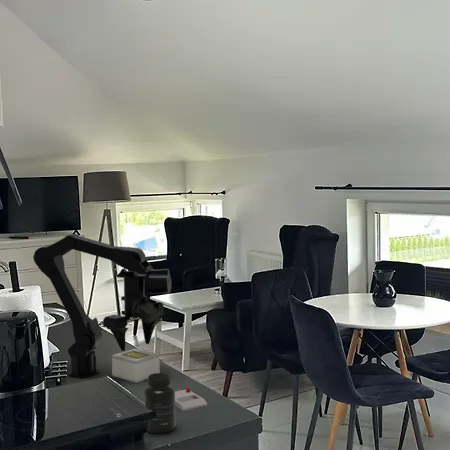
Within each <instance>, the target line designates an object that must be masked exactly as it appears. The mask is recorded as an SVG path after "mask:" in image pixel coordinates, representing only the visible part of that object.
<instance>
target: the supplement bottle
mask: <svg viewBox="0 0 450 450" xmlns="http://www.w3.org/2000/svg"><path fill="white" fill-rule="evenodd" d="M147 380H148V382H147V385H148V387H146V388H145V391H144V392H143V400H144V402H143V403H144V404H143V405H144V406H145V407H144V409H145V408H147V409H149V410H152V411H153V412H155V413H156V415H157V416H156V418H154V419H153V420H152V421H151V422H150V423H149V425H148V429H147V430H146V432H148V433H151V434H154V435H155V434H156V435H162V434H163V435H164V434H167V433H170V432H172V431H173V430H174V429H175V428H176V406H175V392H176V391H175V389H174V388H173V386H171V375H170V374H168V373H166V372H160V373H155V374H151V375H150V376H149V377H148V379H147Z"/></svg>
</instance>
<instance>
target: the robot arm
mask: <svg viewBox="0 0 450 450" xmlns="http://www.w3.org/2000/svg"><path fill="white" fill-rule="evenodd" d="M72 250H75V251H78V252H80V253H84V254H89V255H90V256H91V255H92V256H95V257H98V258H102V259H105V260H109V261H111V262H113V263H114V264H116V265H117V266H119V267H121V270H120V271H119V272H118V273H117V275H116V276H115V277H116V278H120V279H121V278H122V279H123V296H121V297H120V299H121V300H120V301H123V303H124V310H121V315H120V314H119V315H118V314H112V315H111V314H110V315H107V316H105V317H104V318H103V320H102V327H104V328H106V329H107V330H110V332H111V334H112V335H113V336H114V337H113V338H114V339H115V340H116V342H117V344H118V347H119V348H120V350H121V352H125V351H126V333H127V331H128V330H129V327H127V326H128V323H130V322H131V323H132V322H136V321H141V324H142V332H143V338H144V342H145V344H146V345H149V344H150V342H151V340H152V335H153V333H154V330H155V327H156V325H158V323H160V322H162V319H165V317H166V314H165V310H164V308H165V307H164V303H162V302H161V301H158V302H154V303H150V302H149V297H148V296H147V295H145V290H146V291H147V292H148V293H149V294H171V290H172V278H171V274H170V268H163V269H154V268H153V267H152V265H151V263H150V262H149V261H148V260H147V258H146V254H145V252H144V250H142V249H141V248H139V247H132V246H119V245H118V246H116V245H112V244H108V243H105V242H102V241H98V240H95V239H91V238H87V237H84V236H81V235H78V234H76V233H72V234H67V235H66V236H64V237H63V238H61V239H59V240H58V241H55V242H54V243H52V244H49V245H45V246H41V247H39V248H37V249H36V250H35V251H34V253H33V257H32V259H33V262H34V264H35V265H36V266H37V267H38V269H39V271H41V273H42V274H44V275H45V276H46V277H47V278H48V279H49V280H50V282H51V284H52V286H53V288H54V290H55V291H56V294H57V296H58V298H59V301H60V302H61V303H62V307H64V310H65V312H66V314H67V315H68V318H69V320H70V322H71V324H72V325H71V326H72V335H73V338H74V342H73V343H72V345H71V346H69V348H67V353H68V355H69V357H70V371H68V373H67V375H69V376H72V377H76V378H78V379H83V378H88V377H90V376H93V375H96V374H99V373H100V371H99V370H97V356H96V351H94V350H96V347H97V345H99V344H100V343H101V341H102V339H103V332H102V331H103V330H104V329H103V328H102V327H101V326H100V324H99V320H98V318H97V317H94V318H93V319H92V318H90V316H88V314H87V312H86V311H85V309H84V307H83V305H82V303H81V301H80V299H79V297H78V295H77V293H76V291H75V289H74V287H73V286H72V283H71V281H70V279H69V277H68V275H67V273H66V270H65V260H64V257H63V256H64V255H66V254H68V253H69V252H71V251H72Z"/></svg>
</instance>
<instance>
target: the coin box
mask: <svg viewBox="0 0 450 450" xmlns="http://www.w3.org/2000/svg"><path fill="white" fill-rule="evenodd" d="M132 352H134V353H139V354H144V355H146V356H145V357H142V358H139V359H136V358H132V357H128V356H126V354H129V353H132ZM160 366H161V365H160V354H159V353H155V352H151V351H147V350H144V349H140V348H139V349H138V348H133V349H130V350H125V351H121V352H118V353H115V354H112V355H111V368H112V369H111V371H112V372H111V374H112V377H114V378H118V379H122V380H124V381H125V380H126V381H128V382H132V383H134V384H135V383H136V384H137V383H140V382H143V381H145V380H148V377H149V376H150V375H151V374H155V373H161V370H160Z"/></svg>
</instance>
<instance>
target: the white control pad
mask: <svg viewBox="0 0 450 450" xmlns="http://www.w3.org/2000/svg"><path fill="white" fill-rule="evenodd" d="M190 388H191V387H189V386H187V387H186V389H180V388H176V391H175V408H178V409H180V410H181V411H183V412H186V411H187V412H188V411H192V410H196V409H200V408H199V407H201V408H204V407H203V406H205V407H208V402H207V401H206V400H205V398H203V397H202V396H200V395H198V394H196V393H194V392H193V391H191V389H190ZM195 408H196V409H195Z"/></svg>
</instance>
